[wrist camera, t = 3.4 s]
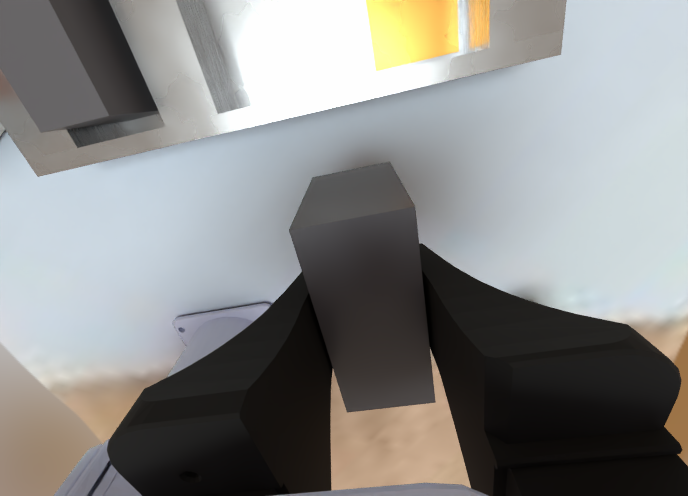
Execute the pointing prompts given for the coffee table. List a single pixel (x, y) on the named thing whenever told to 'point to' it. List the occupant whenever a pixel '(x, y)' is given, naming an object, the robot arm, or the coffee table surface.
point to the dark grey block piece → (367, 285)
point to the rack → (285, 64)
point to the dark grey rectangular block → (71, 64)
